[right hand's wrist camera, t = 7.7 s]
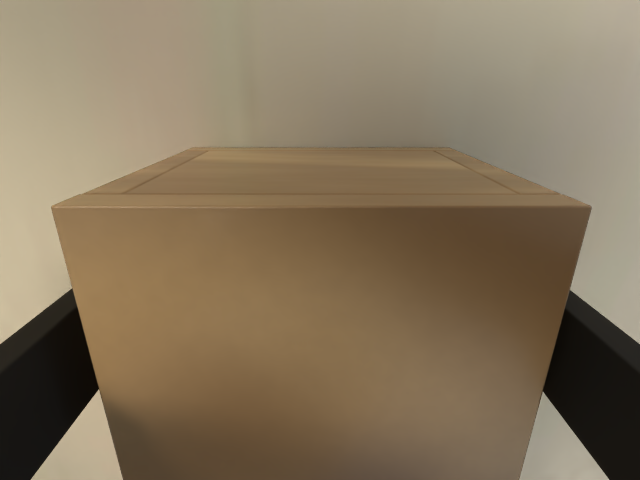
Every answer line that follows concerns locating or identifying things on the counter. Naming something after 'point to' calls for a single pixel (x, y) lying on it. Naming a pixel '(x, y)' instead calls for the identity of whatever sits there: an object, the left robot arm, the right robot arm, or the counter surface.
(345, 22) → the counter surface
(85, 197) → the cabinet
